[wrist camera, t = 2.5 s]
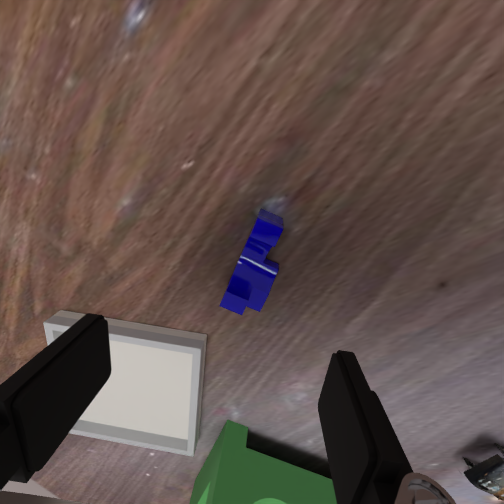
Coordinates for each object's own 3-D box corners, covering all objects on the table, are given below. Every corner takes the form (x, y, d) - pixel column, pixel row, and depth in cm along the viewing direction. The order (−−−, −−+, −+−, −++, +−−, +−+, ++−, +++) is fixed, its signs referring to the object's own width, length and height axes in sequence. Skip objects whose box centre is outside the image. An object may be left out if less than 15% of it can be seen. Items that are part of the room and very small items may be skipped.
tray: (207, 334, 26) (201, 349, 24) (198, 437, 32) (193, 456, 30) (61, 310, 27) (43, 322, 25) (77, 415, 33) (64, 432, 30)
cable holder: (261, 297, 25) (258, 322, 21) (228, 283, 24) (219, 305, 21) (298, 224, 22) (302, 237, 18) (260, 208, 22) (257, 217, 18)
